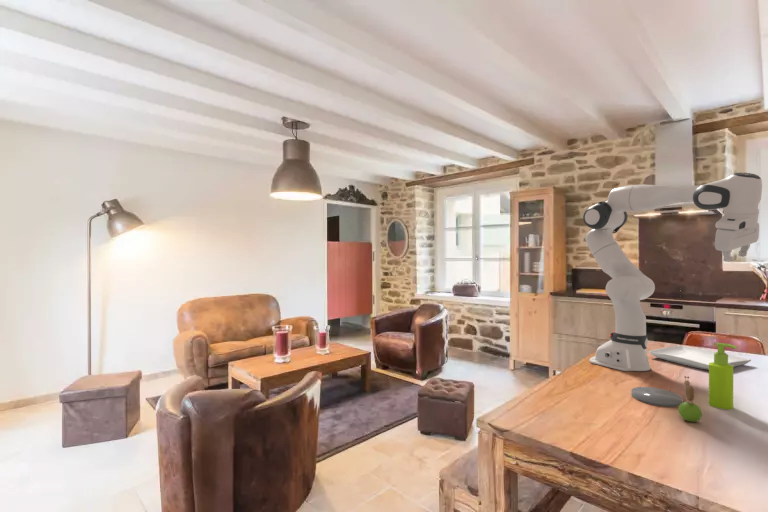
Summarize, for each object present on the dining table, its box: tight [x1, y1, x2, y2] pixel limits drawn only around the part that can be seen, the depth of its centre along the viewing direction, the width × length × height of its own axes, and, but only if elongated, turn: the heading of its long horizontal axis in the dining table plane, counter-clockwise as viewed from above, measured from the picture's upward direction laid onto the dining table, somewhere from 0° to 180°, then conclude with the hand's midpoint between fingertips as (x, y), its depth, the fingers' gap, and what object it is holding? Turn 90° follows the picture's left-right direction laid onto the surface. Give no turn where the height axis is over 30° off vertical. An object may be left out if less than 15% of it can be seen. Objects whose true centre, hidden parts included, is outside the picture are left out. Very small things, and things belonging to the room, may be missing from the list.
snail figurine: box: [677, 375, 703, 423], centre depth 114 cm, size 5×6×12 cm
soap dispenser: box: [708, 342, 739, 411], centre depth 124 cm, size 6×7×20 cm
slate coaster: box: [630, 386, 683, 408], centre depth 131 cm, size 14×14×2 cm
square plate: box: [647, 345, 752, 371], centre depth 174 cm, size 27×27×4 cm
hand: (734, 258), depth 139 cm, fingers open, 8 cm apart
